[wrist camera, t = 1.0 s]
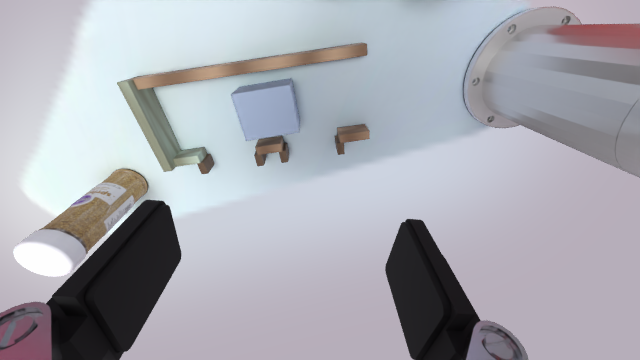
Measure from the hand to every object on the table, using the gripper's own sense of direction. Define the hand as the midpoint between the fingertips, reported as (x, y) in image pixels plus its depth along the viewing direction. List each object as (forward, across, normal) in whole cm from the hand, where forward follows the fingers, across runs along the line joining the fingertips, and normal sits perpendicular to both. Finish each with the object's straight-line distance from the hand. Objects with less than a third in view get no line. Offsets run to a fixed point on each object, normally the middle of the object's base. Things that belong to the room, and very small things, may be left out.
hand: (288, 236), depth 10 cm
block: (+22, +4, +1) cm, 23 cm away
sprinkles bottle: (+22, +22, +13) cm, 34 cm away
